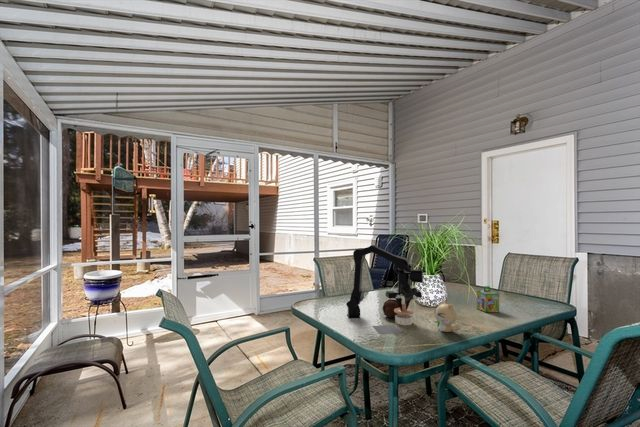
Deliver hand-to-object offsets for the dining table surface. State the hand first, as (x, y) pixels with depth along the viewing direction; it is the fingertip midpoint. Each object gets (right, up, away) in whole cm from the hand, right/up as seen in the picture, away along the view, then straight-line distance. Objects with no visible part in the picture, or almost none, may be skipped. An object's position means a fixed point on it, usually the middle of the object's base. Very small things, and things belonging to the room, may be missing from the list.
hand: (403, 310), depth 170 cm
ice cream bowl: (-1, -4, +18) cm, 18 cm away
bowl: (0, -7, 0) cm, 7 cm away
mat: (-11, -7, -11) cm, 17 cm away
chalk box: (+58, -8, +23) cm, 63 cm away
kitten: (+18, -7, -12) cm, 23 cm away
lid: (0, -1, 0) cm, 1 cm away
